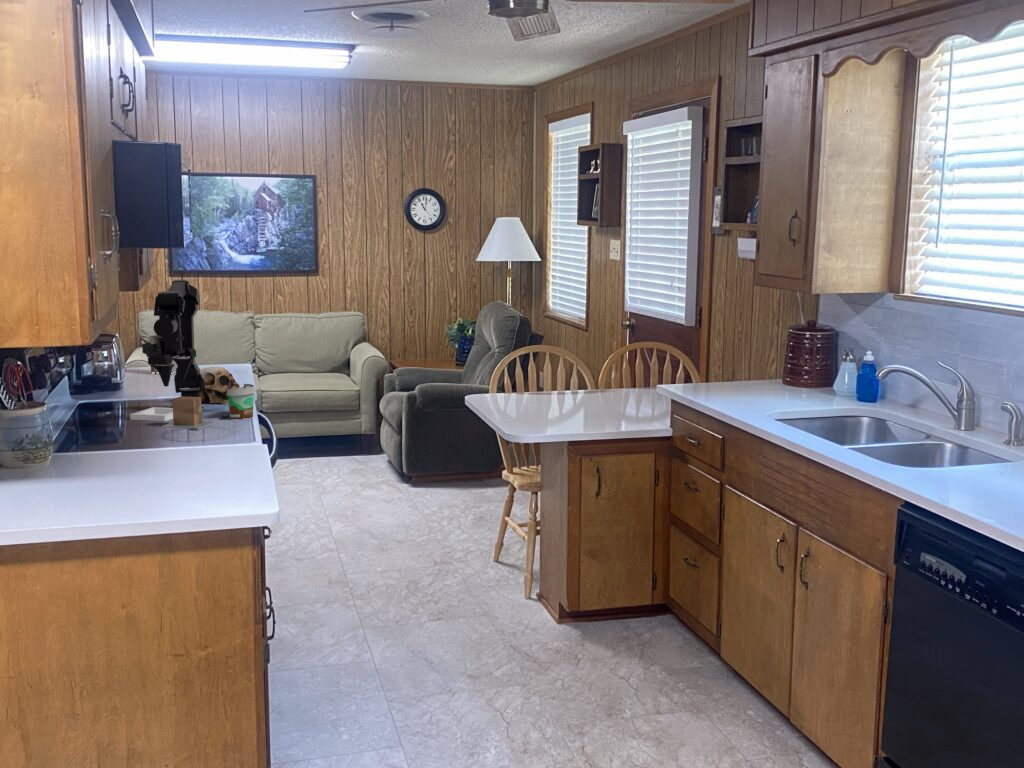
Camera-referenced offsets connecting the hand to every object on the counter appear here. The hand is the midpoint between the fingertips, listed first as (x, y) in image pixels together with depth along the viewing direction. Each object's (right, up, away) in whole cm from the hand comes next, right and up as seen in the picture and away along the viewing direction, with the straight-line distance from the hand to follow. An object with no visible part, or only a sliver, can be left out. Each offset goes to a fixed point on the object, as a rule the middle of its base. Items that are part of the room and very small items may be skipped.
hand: (174, 383), depth 303 cm
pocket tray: (-8, -11, +11) cm, 18 cm away
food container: (+19, -11, +13) cm, 25 cm away
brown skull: (+1, -6, +43) cm, 44 cm away
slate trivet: (+5, -13, -2) cm, 14 cm away
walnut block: (+5, -12, -2) cm, 13 cm away
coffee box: (-42, +4, +111) cm, 119 cm away
